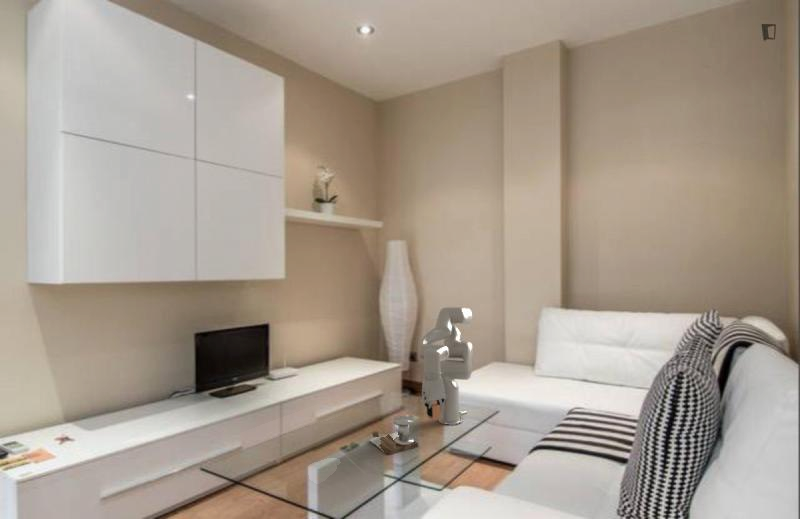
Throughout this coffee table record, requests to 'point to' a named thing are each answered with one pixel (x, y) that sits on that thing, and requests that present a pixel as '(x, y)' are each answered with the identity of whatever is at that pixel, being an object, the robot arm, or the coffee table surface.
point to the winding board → (398, 448)
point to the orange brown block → (435, 412)
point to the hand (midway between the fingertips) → (434, 414)
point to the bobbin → (403, 431)
